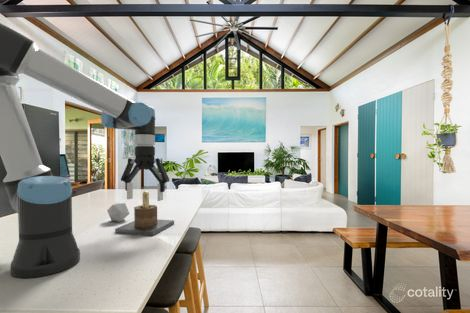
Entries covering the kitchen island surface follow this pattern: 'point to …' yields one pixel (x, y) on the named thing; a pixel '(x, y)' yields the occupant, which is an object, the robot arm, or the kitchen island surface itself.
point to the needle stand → (152, 230)
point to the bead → (145, 216)
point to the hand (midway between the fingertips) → (144, 199)
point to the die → (118, 212)
